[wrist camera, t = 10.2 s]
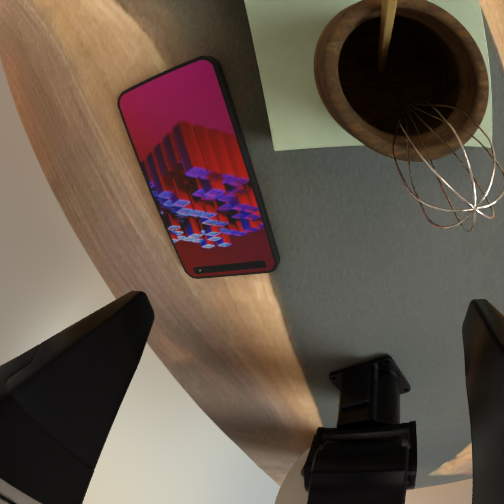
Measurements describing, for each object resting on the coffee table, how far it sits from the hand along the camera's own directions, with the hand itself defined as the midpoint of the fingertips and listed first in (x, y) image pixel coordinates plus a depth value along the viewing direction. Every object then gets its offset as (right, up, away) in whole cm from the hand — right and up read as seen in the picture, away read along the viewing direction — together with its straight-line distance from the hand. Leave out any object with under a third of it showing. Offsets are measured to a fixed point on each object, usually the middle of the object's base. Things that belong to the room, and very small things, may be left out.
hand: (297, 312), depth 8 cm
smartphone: (-5, +7, +13) cm, 15 cm away
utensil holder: (+5, +10, +4) cm, 12 cm away
